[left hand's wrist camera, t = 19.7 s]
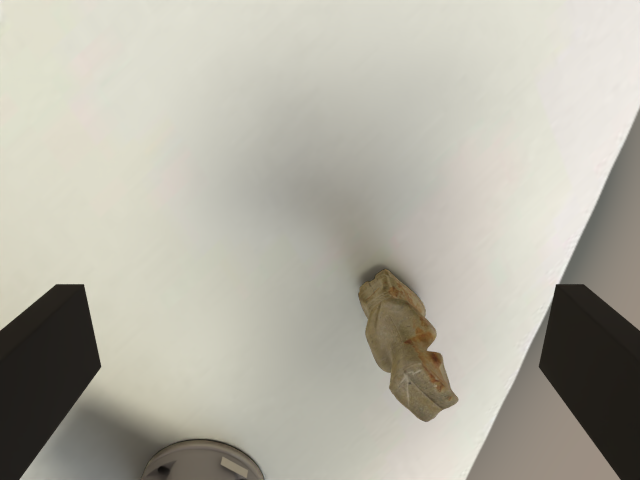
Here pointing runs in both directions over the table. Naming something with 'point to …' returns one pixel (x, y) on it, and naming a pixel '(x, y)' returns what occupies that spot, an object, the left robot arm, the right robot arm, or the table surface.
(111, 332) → the table surface
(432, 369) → the sculpture
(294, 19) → the table surface
